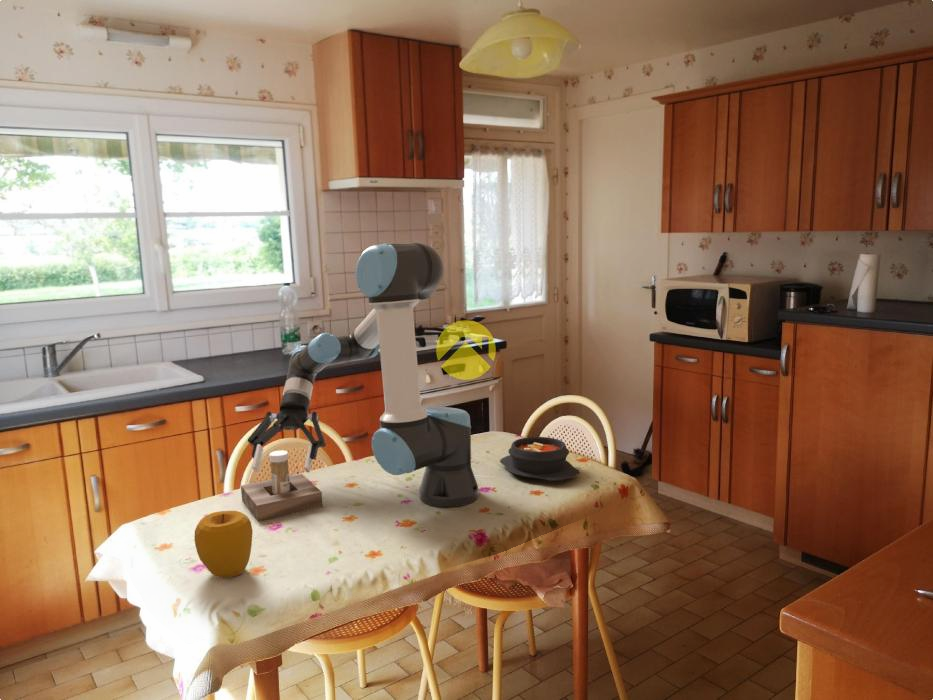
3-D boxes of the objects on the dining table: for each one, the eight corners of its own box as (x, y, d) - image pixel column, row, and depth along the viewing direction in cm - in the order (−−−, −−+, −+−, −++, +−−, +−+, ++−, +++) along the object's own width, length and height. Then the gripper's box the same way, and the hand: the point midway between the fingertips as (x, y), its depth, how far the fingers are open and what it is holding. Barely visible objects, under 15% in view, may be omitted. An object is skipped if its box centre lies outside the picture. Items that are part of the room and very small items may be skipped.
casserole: (594, 476, 193) (595, 447, 192) (546, 492, 182) (546, 461, 180) (532, 455, 213) (531, 428, 211) (484, 468, 201) (484, 440, 200)
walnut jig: (322, 507, 175) (321, 491, 174) (257, 521, 167) (256, 505, 166) (302, 487, 188) (301, 473, 188) (241, 500, 180) (240, 485, 180)
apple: (186, 581, 138) (180, 520, 136) (223, 558, 148) (218, 500, 146) (231, 591, 134) (226, 527, 132) (266, 565, 144) (262, 506, 142)
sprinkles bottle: (290, 506, 176) (287, 454, 174) (272, 507, 175) (268, 456, 173) (291, 499, 180) (288, 449, 178) (272, 501, 179) (269, 450, 177)
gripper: (344, 405, 192) (332, 476, 180) (256, 405, 194) (238, 475, 182) (338, 391, 186) (325, 463, 174) (247, 390, 188) (228, 462, 176)
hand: (280, 470), depth 178 cm, fingers open, 13 cm apart
